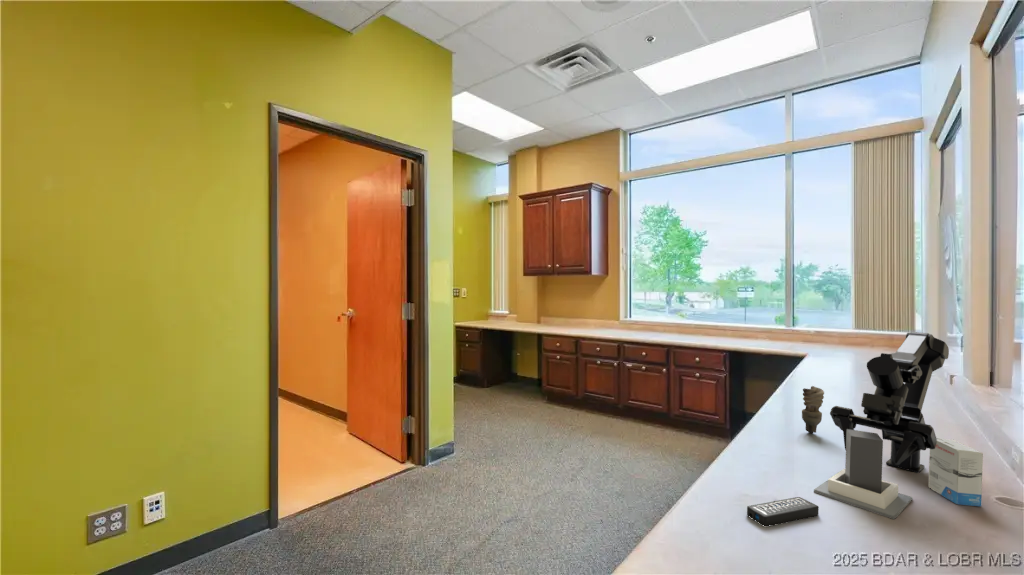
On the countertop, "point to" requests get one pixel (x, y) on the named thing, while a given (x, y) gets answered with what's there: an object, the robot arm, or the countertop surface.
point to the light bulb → (812, 408)
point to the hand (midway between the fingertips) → (870, 456)
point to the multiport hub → (782, 511)
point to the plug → (864, 460)
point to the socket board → (865, 496)
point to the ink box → (956, 472)
